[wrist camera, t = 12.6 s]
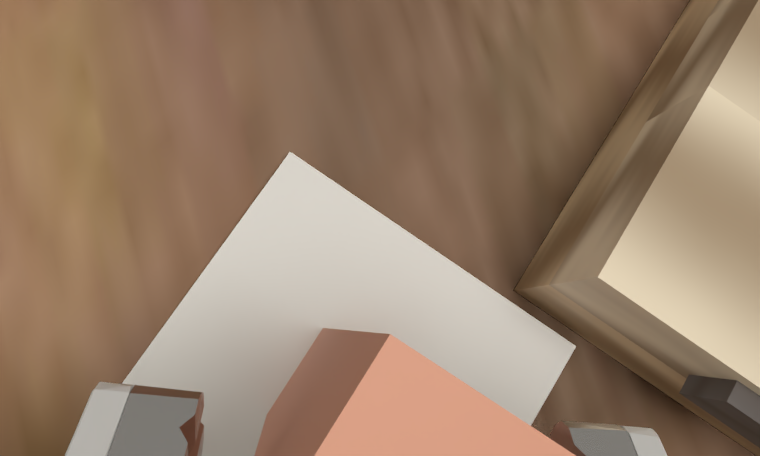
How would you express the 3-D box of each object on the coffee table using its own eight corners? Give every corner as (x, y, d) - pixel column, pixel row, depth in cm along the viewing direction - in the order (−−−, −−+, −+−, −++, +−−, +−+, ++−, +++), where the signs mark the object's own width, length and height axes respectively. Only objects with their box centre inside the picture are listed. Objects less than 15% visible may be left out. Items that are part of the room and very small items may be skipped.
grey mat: (386, 662, 19) (389, 673, 18) (73, 456, 19) (65, 460, 18) (568, 345, 21) (576, 346, 21) (290, 156, 21) (290, 151, 20)
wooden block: (351, 469, 19) (497, 832, 5) (266, 414, 19) (197, 643, 5) (405, 381, 20) (658, 509, 6) (322, 327, 20) (390, 333, 6)
